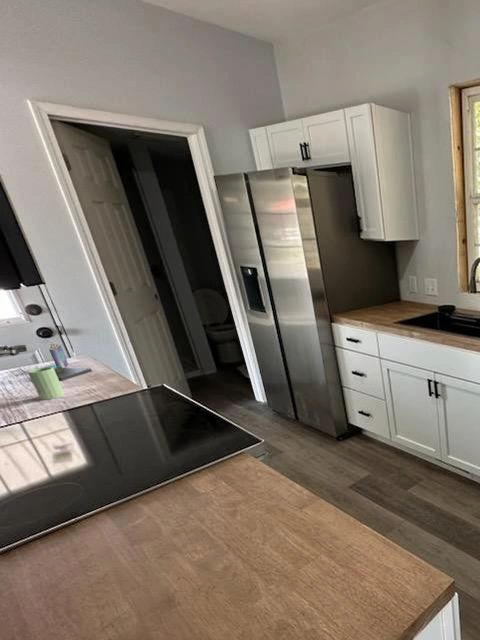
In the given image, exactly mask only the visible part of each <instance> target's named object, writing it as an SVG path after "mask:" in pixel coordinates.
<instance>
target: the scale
mask: <svg viewBox="0 0 480 640" xmlns="http://www.w3.org/2000/svg"><path fill="white" fill-rule="evenodd" d="M56 367H57V368H56V369H54V370H55V372H56V375H57V377H58V379H59V381H60V382H63V381H67V380H70V379H73V378H75V377H79V376H82V375H85V374H88V373H92V372H93V370H92V368H91V367H89V368H88V367H87V368H85V367H84V368H83V367H66V368H62V367H61V366H56Z"/></svg>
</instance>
